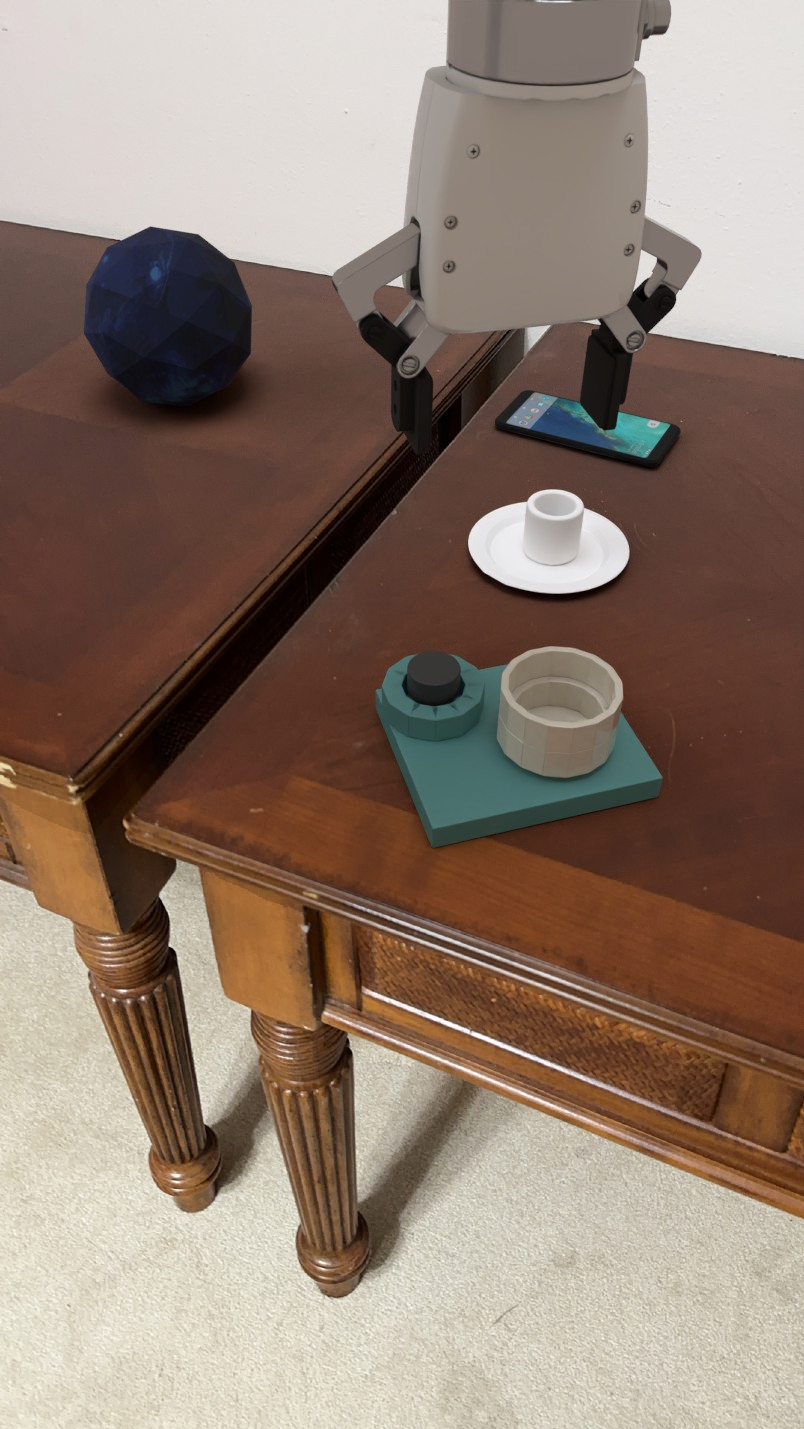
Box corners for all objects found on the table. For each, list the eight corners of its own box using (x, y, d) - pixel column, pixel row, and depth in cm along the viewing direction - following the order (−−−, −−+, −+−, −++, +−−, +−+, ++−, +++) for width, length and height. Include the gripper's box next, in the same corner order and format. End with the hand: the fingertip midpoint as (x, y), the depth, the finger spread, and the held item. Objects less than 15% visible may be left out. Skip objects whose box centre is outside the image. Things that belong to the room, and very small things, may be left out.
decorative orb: (145, 406, 88) (208, 219, 85) (24, 354, 95) (79, 180, 92) (252, 445, 101) (310, 284, 98) (138, 398, 107) (190, 245, 104)
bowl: (520, 794, 63) (527, 737, 60) (480, 714, 67) (484, 658, 64) (631, 769, 64) (643, 713, 61) (584, 693, 69) (593, 637, 66)
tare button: (415, 711, 66) (416, 689, 64) (400, 677, 68) (400, 655, 67) (466, 701, 66) (467, 679, 65) (450, 667, 68) (451, 646, 67)
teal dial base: (431, 849, 62) (432, 807, 60) (372, 703, 71) (371, 662, 68) (658, 797, 65) (668, 755, 62) (575, 663, 74) (581, 622, 71)
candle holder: (478, 605, 78) (482, 555, 75) (458, 512, 87) (461, 464, 84) (645, 597, 79) (654, 547, 76) (608, 505, 88) (616, 457, 85)
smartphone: (524, 387, 100) (683, 425, 95) (523, 395, 101) (682, 433, 96) (491, 421, 96) (657, 463, 91) (490, 429, 96) (655, 471, 91)
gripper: (697, 7, 48) (635, 377, 60) (307, 24, 44) (322, 414, 56) (785, 47, 43) (698, 444, 54) (350, 70, 39) (357, 490, 51)
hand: (507, 428), depth 55 cm, fingers open, 9 cm apart
